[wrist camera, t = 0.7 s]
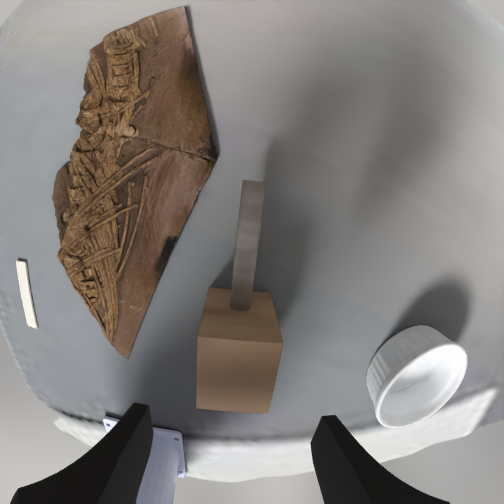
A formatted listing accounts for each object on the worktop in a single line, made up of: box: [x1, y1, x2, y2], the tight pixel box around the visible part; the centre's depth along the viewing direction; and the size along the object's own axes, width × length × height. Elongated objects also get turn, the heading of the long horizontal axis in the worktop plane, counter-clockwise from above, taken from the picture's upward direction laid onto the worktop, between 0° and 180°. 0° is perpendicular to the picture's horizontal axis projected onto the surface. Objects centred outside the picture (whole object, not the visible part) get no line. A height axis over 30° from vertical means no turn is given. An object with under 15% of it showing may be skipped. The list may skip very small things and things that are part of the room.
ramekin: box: [367, 325, 467, 428], centre depth 19 cm, size 9×9×4 cm
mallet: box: [196, 180, 283, 413], centre depth 15 cm, size 12×4×6 cm, turn 173°
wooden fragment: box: [52, 7, 217, 358], centre depth 16 cm, size 26×11×1 cm, turn 166°
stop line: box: [16, 260, 38, 328], centre depth 18 cm, size 6×1×1 cm, turn 173°
